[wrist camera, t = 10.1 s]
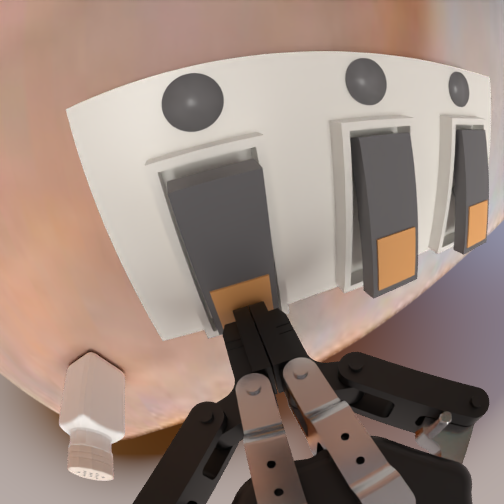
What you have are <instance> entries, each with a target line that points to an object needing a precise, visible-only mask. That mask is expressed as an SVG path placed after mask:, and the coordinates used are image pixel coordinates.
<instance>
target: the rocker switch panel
mask: <svg viewBox="0 0 504 504" xmlns="http://www.w3.org/2000/svg"><path fill="white" fill-rule="evenodd" d="M66 112H67V116H68V120H69V124H70V127H71V131H72V134H73V138H74V141H75V145H76V148H77V151H78V154H79V158H80V161H81V164H82V167H83V170H84V173H85V176H86V178H87V181H88V184H89V187H90V190H91V192H92V195H93V198H94V200H95V203H96V205H97V208H98V211H99V213H100V216H101V218H102V220H103V223H104V225H105V228H106V230H107V232H108V235H109V237H110V239H111V242H112V244H113V246H114V248H115V250H116V253H117V255H118V257H119V259H120V261H121V263H122V265H123V268H124V270H125V272H126V274H127V276H128V278H129V280H130V282H131V284H132V286H133V288H134V290H135V292H136V294H137V296H138V297H139V299H140V301H141V303H142V305H143V307H144V309H145V310H146V312H147V314H148V316H149V318H150V320H151V321H152V323H153V325H154V327H155V328H156V330H157V332H158V334H159V335H160V337H161V339H162V340H163V341H165V340H169V339H173V338H177V337H180V336H184V335H188V334H192V333H195V332H199V331H202V330H205V333H206V335H207V337H208V338H212V337H215V336H219V333H218V330H217V328H216V325H215V323H214V320H213V318H212V315H211V313H210V310H209V308H208V305H207V303H206V300H205V298H204V295H203V293H202V290H201V287H200V285H199V282H198V280H197V277H196V274H195V272H194V269H193V266H192V263H191V261H190V258H189V255H188V252H187V250H186V247H185V244H184V241H183V238H182V236H181V233H180V230H179V227H178V224H177V221H176V218H175V215H174V212H173V209H172V206H171V203H170V200H169V197H168V194H167V181H170V180H173V179H177V178H180V177H183V176H187V175H190V174H194V173H198V172H201V171H205V170H209V169H212V168H216V167H220V166H224V165H228V164H232V163H236V162H240V161H245V160H249V159H253V158H254V159H255V160H256V161H257V162H258V163H259V164H260V166H261V167H262V168H263V175H264V182H265V190H266V198H267V206H268V215H269V223H270V231H271V240H272V249H273V258H274V267H275V276H276V285H277V294H278V304H279V309H280V310H281V311H282V312H284V313H285V314H289V304H290V303H293V302H296V301H299V300H302V299H305V298H308V297H310V296H313V295H316V294H319V293H322V292H325V291H327V290H330V289H333V288H336V287H339V288H340V289H341V290H342V291H343V293H347V292H350V291H352V290H355V289H357V288H360V287H362V286H363V265H362V250H361V237H360V226H359V221H358V207H357V199H356V191H355V183H354V176H353V170H352V161H351V143H350V138H353V137H361V136H370V135H379V134H388V133H406V132H410V137H411V143H412V151H413V159H414V168H415V178H416V191H417V208H418V255H419V254H421V253H423V252H426V251H428V250H430V249H431V250H433V251H434V252H435V253H436V254H439V253H441V252H443V251H445V250H447V249H449V248H451V247H453V246H454V233H455V197H454V195H453V193H452V188H453V186H454V185H455V179H454V157H455V134H456V129H479V130H485V133H486V142H487V155H488V164H489V153H490V137H491V89H490V77H488V76H485V75H481V74H478V73H475V72H471V71H468V70H464V69H461V68H457V67H453V66H449V65H444V64H440V63H435V62H430V61H425V60H420V59H414V58H408V57H401V56H393V55H385V54H375V53H362V52H341V51H306V52H285V53H272V54H262V55H253V56H245V57H238V58H231V59H225V60H219V61H213V62H208V63H203V64H198V65H194V66H189V67H185V68H181V69H177V70H173V71H169V72H165V73H162V74H158V75H155V76H151V77H148V78H145V79H141V80H138V81H135V82H132V83H129V84H126V85H124V86H121V87H118V88H115V89H113V90H110V91H107V92H105V93H102V94H100V95H97V96H95V97H92V98H90V99H88V100H85V101H83V102H81V103H79V104H76V105H74V106H72V107H70V108H68V109H66ZM220 335H222V334H220Z"/></svg>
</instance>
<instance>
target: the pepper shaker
mask: <svg viewBox="0 0 504 504" xmlns="http://www.w3.org/2000/svg"><path fill="white" fill-rule="evenodd" d="M59 426H60V427H61V428H62V429H63V430H64V431H65V432H66V433H68V434H69V435H70V445H69V446H68V470H69V471H70V472H71V473H73V474H76V475H78V476H80V477H84V478H88V479H93V480H100V481H106V480H111V479H114V470H113V455H112V453H111V444H112V443H114V442H117V441H119V440H120V439H122V438H123V437H124V434H125V375H124V373H123V372H122V371H121V370H119V369H118V368H116V367H115V366H113V365H112V364H110V363H109V362H107V361H106V360H104V359H103V358H101V357H100V356H98V355H97V354H95V353H92V352H89V353H87V354H85V355H84V356H82V357H81V358H80V359H78V360H77V361H75V362H74V363H72V364H71V365H70V366H69V367H68V369H67V373H66V378H65V384H64V390H63V396H62V403H61V410H60V418H59Z"/></svg>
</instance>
